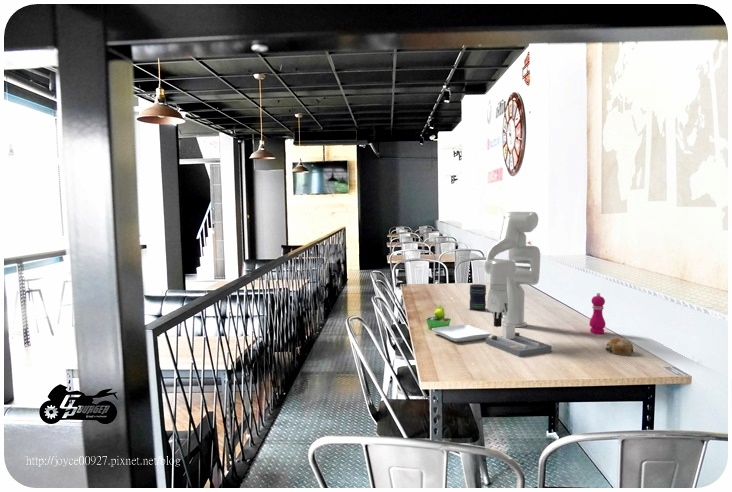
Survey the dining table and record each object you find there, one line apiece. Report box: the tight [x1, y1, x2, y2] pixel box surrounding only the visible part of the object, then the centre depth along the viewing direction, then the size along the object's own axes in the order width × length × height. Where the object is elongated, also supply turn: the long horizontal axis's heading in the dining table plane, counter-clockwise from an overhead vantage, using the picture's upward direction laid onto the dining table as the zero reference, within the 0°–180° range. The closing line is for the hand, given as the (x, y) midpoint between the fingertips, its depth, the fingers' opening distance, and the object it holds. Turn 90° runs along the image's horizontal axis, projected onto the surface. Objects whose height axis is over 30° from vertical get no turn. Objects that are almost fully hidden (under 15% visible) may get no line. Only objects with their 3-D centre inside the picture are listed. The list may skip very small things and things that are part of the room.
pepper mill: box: [588, 292, 606, 335], centre depth 239 cm, size 7×7×20 cm
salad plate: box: [431, 324, 492, 343], centre depth 232 cm, size 21×21×3 cm
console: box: [485, 331, 553, 358], centre depth 213 cm, size 22×18×4 cm
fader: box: [501, 323, 516, 339], centre depth 219 cm, size 3×5×7 cm, turn 114°
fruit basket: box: [425, 305, 451, 330], centre depth 248 cm, size 11×9×11 cm
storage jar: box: [469, 283, 487, 312], centre depth 296 cm, size 10×10×15 cm
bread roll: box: [605, 337, 634, 356], centre depth 206 cm, size 10×10×8 cm
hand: (497, 326), depth 225 cm, fingers closed
